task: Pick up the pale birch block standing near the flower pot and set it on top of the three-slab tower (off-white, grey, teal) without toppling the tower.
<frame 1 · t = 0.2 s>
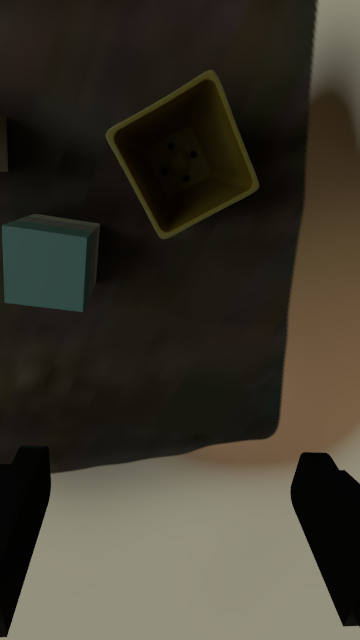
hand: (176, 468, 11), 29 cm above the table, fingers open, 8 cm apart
slab top: (54, 262, 31), point 6 cm above the table
slab bottom: (67, 249, 36), on the table, touching slab middle
slab middle: (61, 255, 34), point 3 cm above the table, touching slab bottom
flower pot: (177, 164, 34), on the table
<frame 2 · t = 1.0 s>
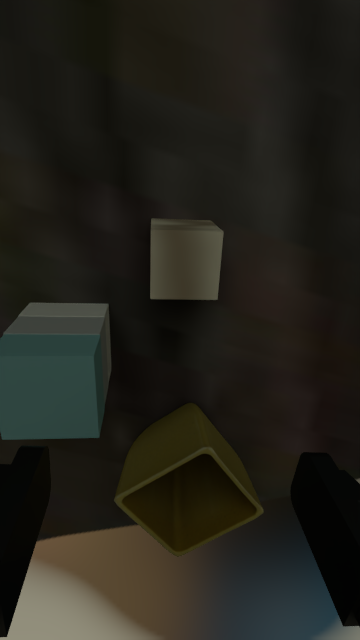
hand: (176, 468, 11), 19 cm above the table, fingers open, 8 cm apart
slab top: (57, 374, 25), point 6 cm above the table, touching slab middle
slab bottom: (73, 336, 30), on the table, touching slab middle
slab middle: (66, 353, 27), point 3 cm above the table, touching slab bottom, slab top
flower pot: (182, 426, 35), on the table
birch block: (179, 249, 28), on the table
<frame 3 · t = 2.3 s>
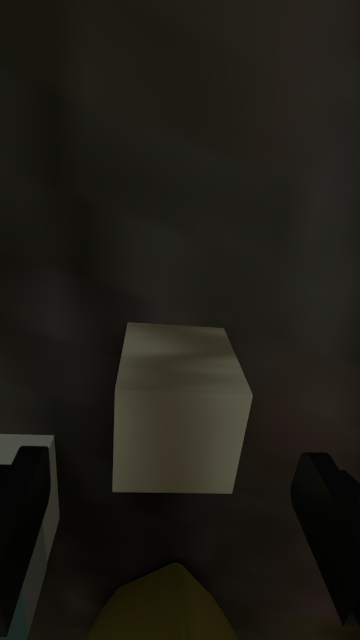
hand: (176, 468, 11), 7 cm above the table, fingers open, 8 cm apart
slab bottom: (0, 475, 20), on the table, touching slab middle
flower pot: (164, 586, 25), on the table
birch block: (172, 366, 17), on the table
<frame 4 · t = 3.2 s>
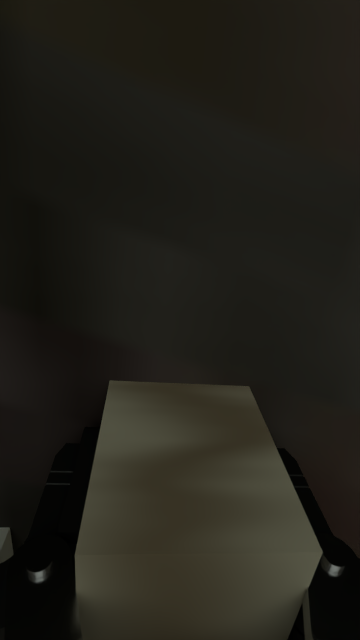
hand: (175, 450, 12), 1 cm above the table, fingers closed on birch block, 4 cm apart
birch block: (174, 437, 12), on the table, touching gripper
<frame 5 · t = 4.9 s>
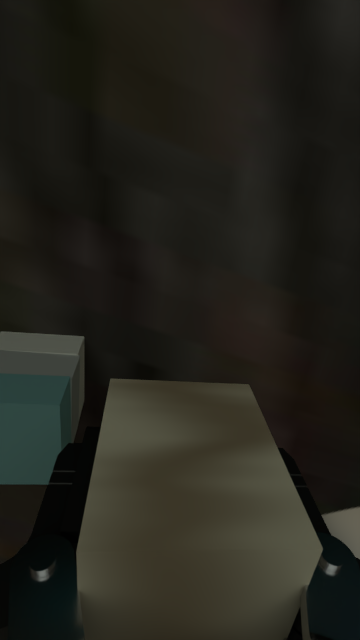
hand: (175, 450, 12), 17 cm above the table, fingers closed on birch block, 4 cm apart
slab top: (22, 413, 24), point 6 cm above the table
slab bottom: (45, 367, 29), on the table, touching slab middle
slab middle: (36, 388, 26), point 3 cm above the table, touching slab bottom
birch block: (174, 436, 12), point 16 cm above the table, touching gripper
when the fingers open (10 cm above the table, at t = 7.7 s): birch block stays where it is, resting on slab top.
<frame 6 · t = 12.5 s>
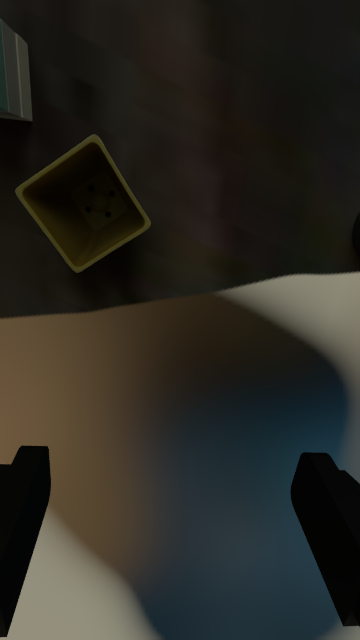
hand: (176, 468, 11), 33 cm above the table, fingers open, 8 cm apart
flower pot: (99, 200, 39), on the table
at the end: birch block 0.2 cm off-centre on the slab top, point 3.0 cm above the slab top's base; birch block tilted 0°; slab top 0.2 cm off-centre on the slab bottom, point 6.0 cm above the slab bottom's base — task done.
